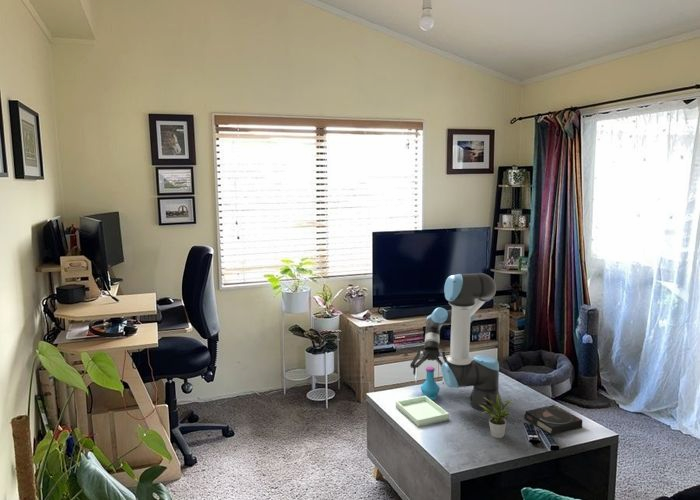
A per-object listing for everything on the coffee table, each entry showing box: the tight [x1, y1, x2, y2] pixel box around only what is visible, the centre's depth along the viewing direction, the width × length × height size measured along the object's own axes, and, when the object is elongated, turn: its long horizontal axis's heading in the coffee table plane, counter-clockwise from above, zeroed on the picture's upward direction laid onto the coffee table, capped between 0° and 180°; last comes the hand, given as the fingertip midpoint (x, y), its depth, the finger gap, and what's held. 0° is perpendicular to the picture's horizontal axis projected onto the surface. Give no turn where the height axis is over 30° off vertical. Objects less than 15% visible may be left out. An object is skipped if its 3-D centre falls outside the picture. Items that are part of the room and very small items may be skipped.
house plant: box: [480, 395, 516, 439], centre depth 218 cm, size 14×14×16 cm
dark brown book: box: [524, 404, 583, 436], centre depth 227 cm, size 16×17×4 cm
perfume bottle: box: [420, 366, 440, 401], centre depth 256 cm, size 9×9×15 cm
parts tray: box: [395, 395, 450, 428], centre depth 239 cm, size 21×16×3 cm
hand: (429, 381), depth 257 cm, fingers open, 13 cm apart
